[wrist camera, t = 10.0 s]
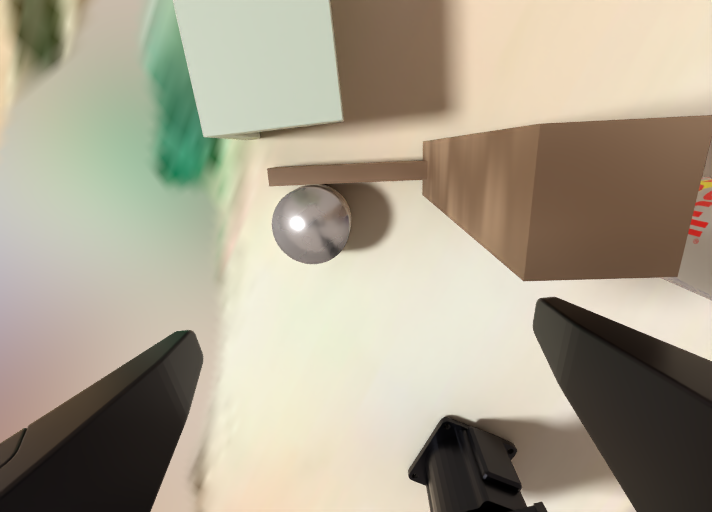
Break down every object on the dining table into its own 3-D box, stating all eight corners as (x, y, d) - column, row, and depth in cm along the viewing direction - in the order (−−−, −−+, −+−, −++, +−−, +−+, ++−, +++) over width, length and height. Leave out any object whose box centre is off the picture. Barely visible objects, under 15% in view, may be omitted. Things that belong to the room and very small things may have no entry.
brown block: (473, 192, 22) (677, 276, 7) (279, 200, 22) (114, 292, 8) (476, 138, 21) (716, 115, 6) (273, 148, 21) (76, 147, 7)
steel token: (329, 264, 24) (325, 277, 21) (270, 230, 23) (258, 239, 21) (364, 207, 22) (364, 214, 20) (302, 169, 22) (294, 172, 19)
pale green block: (349, 127, 21) (342, 119, 16) (244, 139, 21) (203, 137, 16) (325, -89, 18) (307, -189, 12) (204, -69, 18) (136, -158, 13)
